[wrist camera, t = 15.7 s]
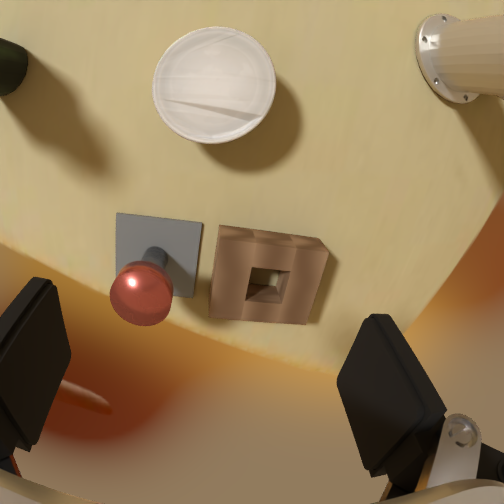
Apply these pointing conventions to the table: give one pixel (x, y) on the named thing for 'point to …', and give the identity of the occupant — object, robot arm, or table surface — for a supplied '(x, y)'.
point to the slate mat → (164, 236)
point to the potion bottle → (11, 66)
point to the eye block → (269, 257)
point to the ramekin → (214, 85)
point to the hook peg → (143, 289)
